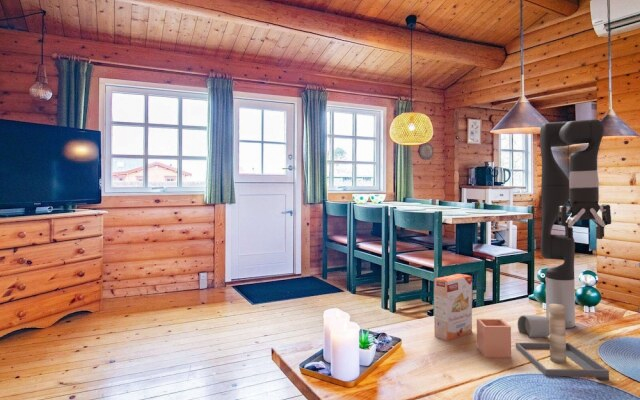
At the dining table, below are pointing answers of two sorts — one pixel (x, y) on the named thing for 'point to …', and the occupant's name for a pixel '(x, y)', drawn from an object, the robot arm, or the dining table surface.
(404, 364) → the dining table surface
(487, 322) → the pink square planter
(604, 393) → the dining table surface
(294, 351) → the dining table surface
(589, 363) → the rectangular frame
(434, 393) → the dining table surface
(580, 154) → the robot arm
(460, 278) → the cracker box
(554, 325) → the dowel
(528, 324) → the ceramic mug
